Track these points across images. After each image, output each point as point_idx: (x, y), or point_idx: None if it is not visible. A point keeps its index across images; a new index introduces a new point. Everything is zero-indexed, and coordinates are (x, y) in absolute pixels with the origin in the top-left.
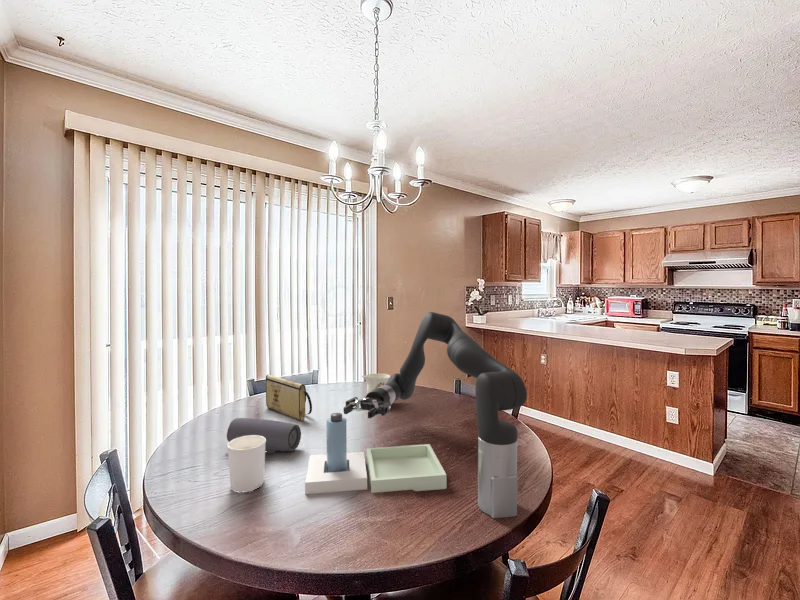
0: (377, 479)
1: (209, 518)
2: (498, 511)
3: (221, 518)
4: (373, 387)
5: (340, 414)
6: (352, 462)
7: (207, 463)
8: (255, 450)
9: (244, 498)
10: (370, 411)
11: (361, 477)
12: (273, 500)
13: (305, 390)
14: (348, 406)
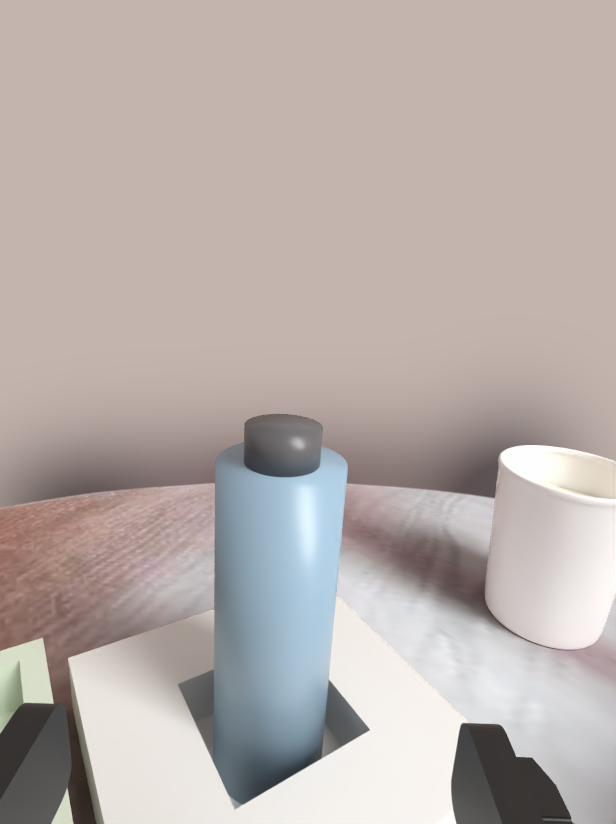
0: (10, 651)
1: (446, 517)
2: None
3: (425, 521)
4: None
5: (259, 429)
6: (194, 777)
7: None
8: (498, 469)
9: (465, 570)
10: (15, 713)
11: (98, 653)
12: (385, 581)
13: None
14: (491, 797)
